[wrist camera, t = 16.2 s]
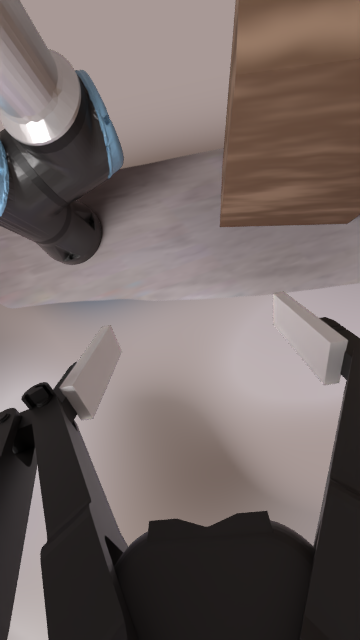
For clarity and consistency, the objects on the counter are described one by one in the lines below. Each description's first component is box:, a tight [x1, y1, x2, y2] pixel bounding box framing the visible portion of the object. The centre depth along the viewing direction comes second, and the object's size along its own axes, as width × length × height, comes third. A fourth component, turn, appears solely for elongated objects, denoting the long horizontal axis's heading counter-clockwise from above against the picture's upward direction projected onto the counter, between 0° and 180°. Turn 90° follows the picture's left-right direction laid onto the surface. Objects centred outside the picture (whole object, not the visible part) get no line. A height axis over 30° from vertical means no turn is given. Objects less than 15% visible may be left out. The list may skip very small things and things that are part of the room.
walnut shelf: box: [220, 0, 360, 227], centre depth 29 cm, size 14×26×29 cm, turn 87°
